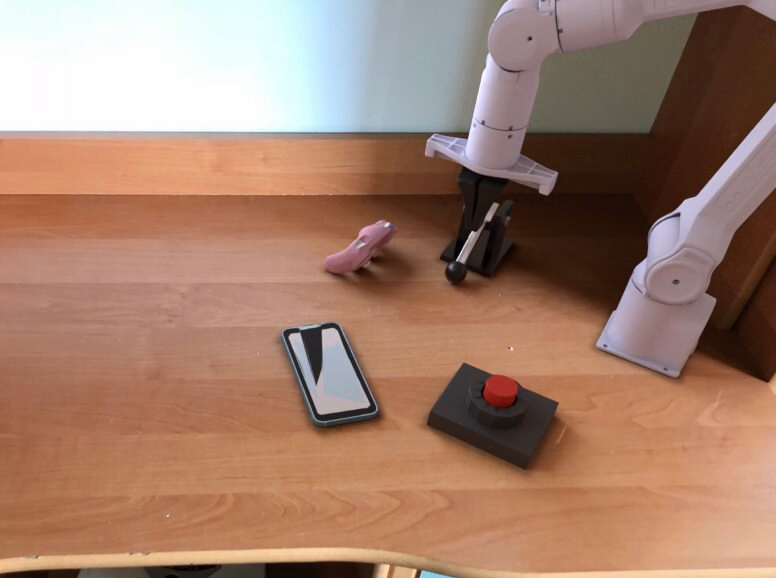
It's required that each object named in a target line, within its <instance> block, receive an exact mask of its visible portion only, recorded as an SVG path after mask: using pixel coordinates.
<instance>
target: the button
mask: <svg viewBox="0 0 776 578" xmlns="http://www.w3.org/2000/svg"><path fill="white" fill-rule="evenodd" d="M493 375H494V376H492V377H490V378H489V379H488V380H487V382H486V386H485V389H484V392H483V397H484V399H485V401H486V402H487V403H488V404H490V405H492V406H494V407H497V408H507V407H509V406H511V405H512V404H513V402H514V400H515V397H516V394H517V391H518V386H517V384H516V382H515V381H516V380H515V379H513V378H511V377H509V376H506V375H503V374H493ZM512 379H513V380H512ZM514 380H515V381H514Z"/></svg>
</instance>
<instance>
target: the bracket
mask: <svg viewBox="0 0 776 578" xmlns="http://www.w3.org/2000/svg"><path fill="white" fill-rule="evenodd" d="M514 204H515V201H513V200H510V199H506V200H505V201H504V202H503V203H502V205H501V206H499V210H498V211H497V212H496V214H495V215H494V219H493V222H492V226H491V230H490V231H488V230H485V229H484V231H483V233H482V235H481V237H480V239H479V241H478V242H477V244H476V246H475V248H474V250H473V252H472V254H471V256H470V257H469V259H468V261H467V263H466V265H465V266H466V268H467V271H468V272H471V273H475V274H477V275H480V276H483V277H485V278H488V279H489V278H491V276H492V274H493V273H494V272H495V271H496V269H497V268H498V266H499V265H500V263H502V261H503V260H504V259H505V257H506V255H507V254H508V253H509V251H510V250H511V249H512V248H513V246H514V243H515V239H514V238H510V237H509V236H506V233H507V228H508V227H509V225H510V222H511V219H512V217H511V215H512V210H513V207H514ZM460 219H461V220H460V225H459V228H458V233H457V234H456V235H455V236H454V238H453V239H452V240H451V241H450V243H449V244H448V245H447V246H446V248H444V250H443V251H442V252H441V254H440V256H439V260H440V261H442V262H445V263H448V264H449V263H451V262H453V261H457V259H458V257H459V255H460V253H461V251H462V249H463V248H464V246H465V244H466V242H467V240H468V238H469V236H470V234H471V233H472V231H471V230H468V229H466V216H465V207H464V206H463V209H462V215H461V218H460Z"/></svg>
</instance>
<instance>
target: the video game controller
mask: <svg viewBox="0 0 776 578" xmlns="http://www.w3.org/2000/svg"><path fill="white" fill-rule="evenodd" d="M397 232H398V229H397V227H395V226H394V225H393V224H392V223H391V222H389V221H386V220H385V219H381V220H379V221H377V222H375V223H374V224H371V225H367V226H364V227H363V228H361V229H360V230H359V232H358V237H357V238H356V239H354V240H353V241H352V242H351V243H350V244H349V246H347V247H346V248H345V249H344V250H342V251H339V252H337V253H333V254H329V255H327V257H325V259H324V262H323V266H324V269H325V270H326V271H328V272H329V273H332V274H345V273H349V272H351V271H354V272H356V271H357V270H358V269H360V268H361V267H362V266H363V268H366V267H368V266H369V265H370V264H371V259H372V258H376V257H378V256H379V251H380V250H381V249H382V248H383V247H384V246H385V245H387V244H389V243H390V241H392V239H393V238H394V236H395V235H396V234H397Z"/></svg>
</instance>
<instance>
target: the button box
mask: <svg viewBox="0 0 776 578" xmlns="http://www.w3.org/2000/svg"><path fill="white" fill-rule="evenodd" d="M494 375H495V374H492V373H490V372H488V371H485V370H483V369H482V368H481V369H480V368H478V367H476V366H473V365H471V364H469V363H466V362H465V361H464V362H462V363H461V365H460V367H459V368H458V369H457V371H456V372H455V374H454V375H453V376H452V378H451V380H450V381H449V383H448V384H447V386H446V387H445V388H444V389H443V391H442V393H441V394H440V395H439V398H438V399H437V400H436V401H435V403H434V404H433V406H432V407H431V409H430V411H429V414H428V417H427V421H426V425H427V426H429V427H430V428H432V429H435V430H437V431H440V432H442V433H444V434H446V435H448V436H450V437H452V438H455V439H457V440H459V441H461V442H464V443H465V444H468V445H469V446H472V447H474V448H477V449H478V450H480V451H483V452H485V453H487V454H490V455H492V456H494V457H496V458H498V459H500V460H502V461H504V462H506V463H508V464H512V465H513V466H515V467H518V468H520V469H522V470H524V471H526V470H527V468H528V467H529V465H530V463H531V460H532V458H533V457H534V455H535V452H536V451H537V449H538V447H539V445H540V443H541V441H542V439H543V437H544V435H545V433H546V432H547V430H548V428H549V426H550V424H551V422H552V420H553V418H554V416H555V414H556V412H557V409H558V407H559V404H560V402H559V401H557V400H554V399H552V398H549V397H547V396H545V395H542V394H540V393H537V392H535V391H532V390H530V389H528V388H526V387H524V386H522V385H521V383H519V382H518V381H517V380H515V379H513V378H511V379H512V380H514V381H515V382H516V384H517V386H518V391H517V394H516V397H515V400H514V402H513V404H512V405H511V406H509V407H507V408H497V407H494V406H492V405H490V404H488V403H487V402H486V401H485V399H484V397H483V392H484V389H485V386H486V382H487V380H488V379H489V378H490V377H492V376H494Z"/></svg>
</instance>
